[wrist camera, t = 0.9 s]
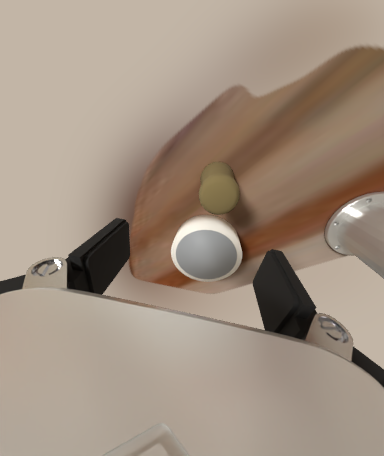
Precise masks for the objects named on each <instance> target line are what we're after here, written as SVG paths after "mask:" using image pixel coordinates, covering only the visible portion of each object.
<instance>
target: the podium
mask: <svg viewBox="0 0 384 456" xmlns="http://www.w3.org/2000/svg"><path fill="white" fill-rule="evenodd" d="M171 256H172V260H173V262H174V264H175V266H176V267H177V268H178V269H179V270H180V271H181V272H182V273H183V274H184V275H186V276H188V277H190V278H192V279H195V280H199V281H206V282H211V281H218V280H221V279H224V278H226V277H228V276H230V275H231V274H233V273H234V272H235V271H236V270H237V268H238V267H239V265H240V263H241V260H242V249H241V245H240V241H239V238H238V234H237V232H236V230H235V228H234V227H233V226H232V225H231V224H230V223H229V222H228V221H226V220H225V219H223V218H221V217H218V216H214V215H198V216H195V217H192V218H190V219H188V220H187V221H185V222H184V223H183V224H182V225H181V226H180V228H179V229H178V231H177V234H176V236H175V239H174V242H173V244H172V248H171Z"/></svg>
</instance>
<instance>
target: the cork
mask: <svg viewBox="0 0 384 456" xmlns="http://www.w3.org/2000/svg"><path fill="white" fill-rule="evenodd" d="M200 179H201V187H200V191H199V200H200V202H201V205H202V206H203V207H204V209H205V210H206V211H208V212H210V213H212V214H216V215H221V214H225V213H228V212H229V211H231V210H232V209H233V208H234V207H235V206H236V205H237V203H238V200H239V196H240V190H239V187H238V184H237V183H236V181H235V180H234V173H233V170H232V169H231V168H230V166H228V165H227V164H226V163H223V162H213V163H211V164H209V165H208V166H206V167H205V168H204V170H203V172H202V174H201V178H200Z"/></svg>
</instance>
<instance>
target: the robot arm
mask: <svg viewBox="0 0 384 456" xmlns="http://www.w3.org/2000/svg"><path fill="white" fill-rule="evenodd" d="M325 239H326V241H327V243H328V244H329V246H330V247H331V248H332V249H334V250H335V251H337V252H339V253H341V254H344V255H355V256H356V257H358V258H359V259H360V260H362V261H363V262H364V263H365V264H366V265H368V266H369V267H370V268H371V269H373V270H374V271H375V272H376V273H378V274H379V275H380V276H381V277H383V278H384V192H375V193H370V194H365V195H363V196H360V197H357V198H355V199H353V200H351V201H349V202H348V203H346V204H345V205H343V206H342V207H341V208H339V209H338V210H337V211H336V212H335V213H334V214H333V215H332V217H331V218H330V220H329V221H328V223H327V226H326V228H325ZM129 257H130V242H129V224H128V222H126V220H124V219H119V218H116V219H115V220H113V221H112V222H111V223H109V224H108V225H107V226H105V227H104V228H103V229H101V230H100V231H99V232H97V233H96V234H95V235H94V236H92V237H91V238H90V239H89V240H87V241H86V242H85V243H83V244H82V245H81V246H79V247H78V248H77V249H75V250H74V251H73V252H72V253H70V254H69V257H68V258H67V259H63V258H59V257H53V258H47V259H43V260H41V261H38V262H36V263H35V264H33V265H32V266H31V267H30V268H29V269H28V270H27V273H26V275H23V276H19V277H16V278H12V279H8V280H4V281H0V456H384V369H382V368H381V367H380V366H378V365H377V364H376V363H374V362H373V361H371V360H370V359H369V358H368V357H366V356H365V355H364V354H362V353H361V352H360V351H359V350H357V349H356V348H354V347H353V339H352V337H351V335H350V333H349V332H348V330H347V329H346V328H345V327H344V326H343V325H342V324H341V323H340V322H338V321H337V320H336V319H334V318H332V317H331V316H329V315H326V314H322V313H319V314H317V312H316V310H315V308H316V306H315V305H314V303H313V301H312V300H311V298H310V297H309V295H308V293H307V291H306V290H305V288H304V287H303V285H302V283H301V282H300V280H299V278H298V277H297V275H296V274H295V272H294V270H293V269H292V267H291V265H290V264H289V262H288V260H287V259H286V257H285V256H284V254H283V252H282V251H278V250H273V249H272V250H270V251H268V252H267V253H266V255H265V257H264V259H263V261H262V263H261V265H260V267H259V270H258V272H257V274H256V276H255V278H254V280H253V287H254V290H255V294H256V298H257V302H258V305H259V309H260V313H261V317H262V321H263V324H264V328H265V330H261V329H257V328H252V327H248V326H243V325H239V324H235V323H230V322H225V321H221V320H217V319H212V318H207V317H203V316H199V315H194V314H190V313H185V312H180V311H176V310H171V309H167V308H162V307H157V306H153V305H148V304H143V303H138V302H134V301H129V300H125V299H120V298H115V297H110V296H106V295H102V294H103V293H104V291H105V290H106V289H107V287H108V286H109V285H110V283H111V282H112V281H113V279H114V278H115V277H116V275H117V274H118V272H119V271H120V270H121V268H122V267H123V266H124V264H125V263H126V262H127V260H128V259H129Z"/></svg>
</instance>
